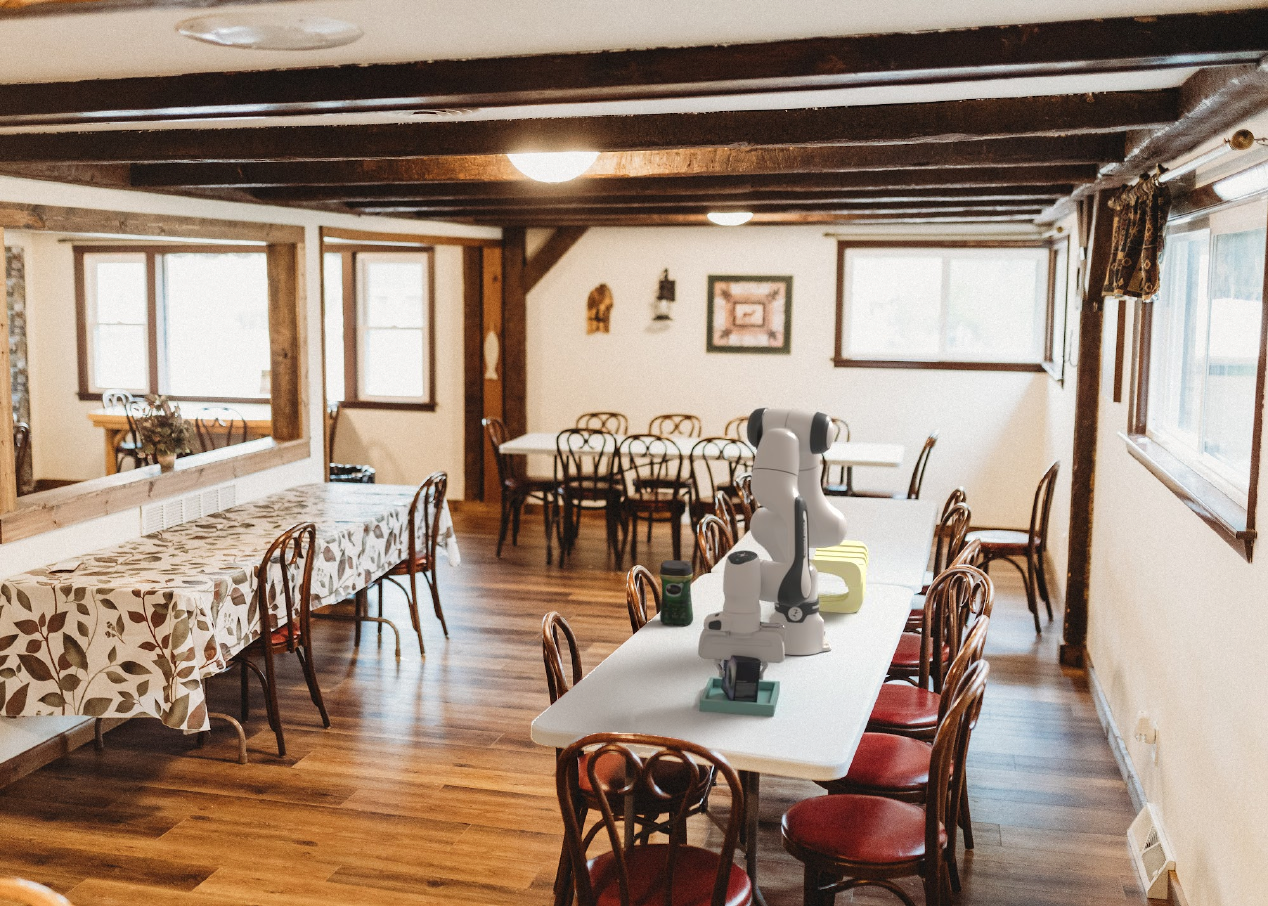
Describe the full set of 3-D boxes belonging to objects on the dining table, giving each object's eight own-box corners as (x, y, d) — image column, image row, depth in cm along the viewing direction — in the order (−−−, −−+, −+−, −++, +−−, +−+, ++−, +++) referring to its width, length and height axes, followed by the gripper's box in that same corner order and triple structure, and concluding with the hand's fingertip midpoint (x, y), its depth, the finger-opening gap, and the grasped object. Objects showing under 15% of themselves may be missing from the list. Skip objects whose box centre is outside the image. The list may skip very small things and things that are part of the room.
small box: (718, 688, 280) (723, 646, 279) (745, 689, 281) (749, 647, 280) (731, 704, 270) (735, 660, 269) (758, 704, 271) (762, 661, 270)
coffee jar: (695, 620, 345) (695, 558, 342) (689, 627, 337) (690, 564, 335) (663, 618, 347) (663, 557, 345) (657, 625, 340) (657, 562, 337)
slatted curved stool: (859, 621, 344) (861, 562, 342) (805, 617, 348) (806, 559, 346) (867, 596, 373) (868, 541, 370) (816, 593, 377) (818, 538, 374)
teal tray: (709, 687, 286) (709, 676, 285) (779, 691, 282) (779, 681, 282) (699, 711, 269) (699, 700, 269) (773, 716, 266) (773, 705, 266)
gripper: (787, 619, 274) (786, 676, 276) (701, 615, 278) (700, 671, 280) (785, 627, 268) (784, 685, 270) (697, 622, 272) (696, 679, 274)
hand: (741, 678), depth 275 cm, fingers closed on small box, 7 cm apart
